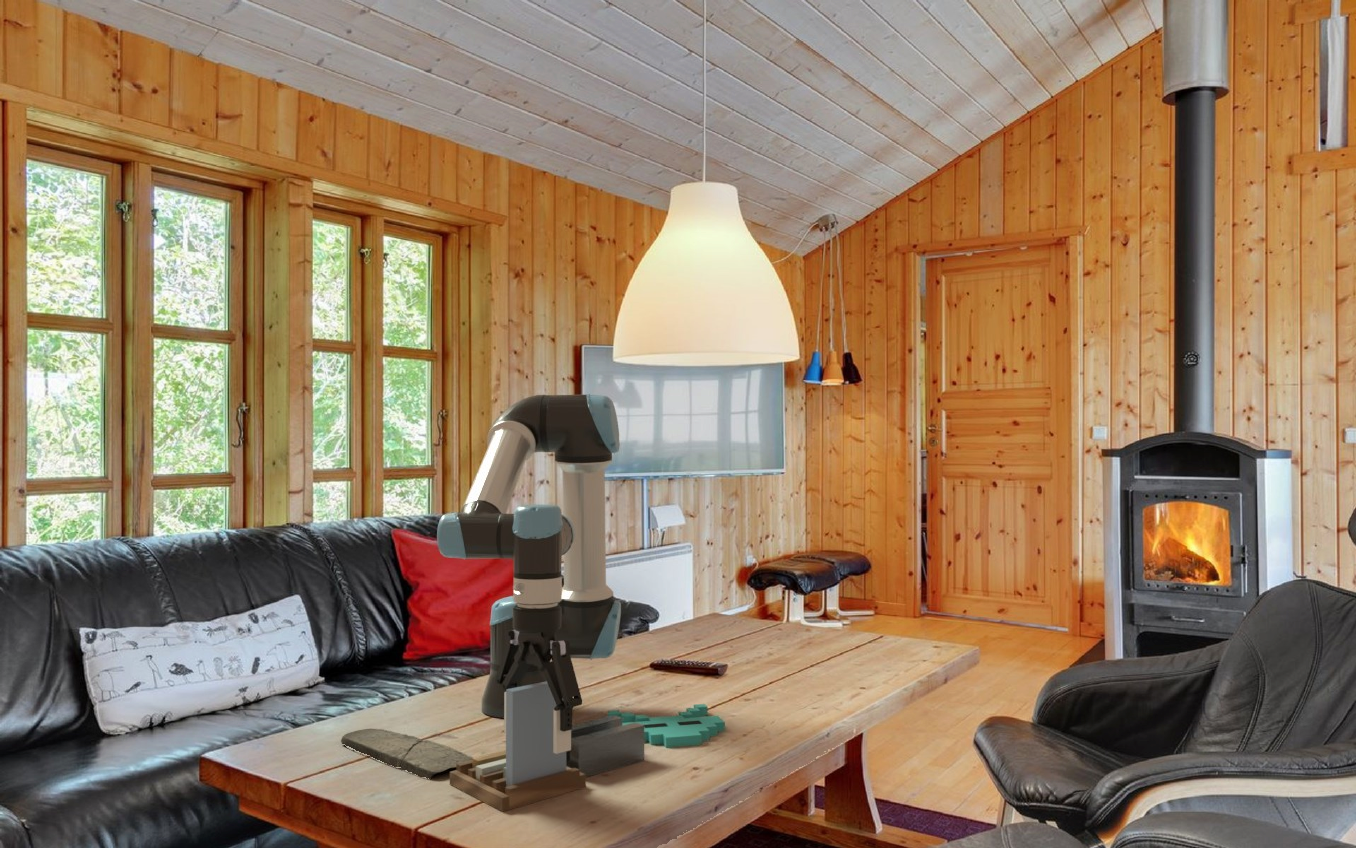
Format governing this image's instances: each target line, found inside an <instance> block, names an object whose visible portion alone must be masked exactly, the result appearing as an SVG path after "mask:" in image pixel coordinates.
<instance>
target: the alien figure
mask: <svg viewBox="0 0 1356 848" xmlns="http://www.w3.org/2000/svg"><path fill="white" fill-rule="evenodd" d="M708 709H709V708H708V706H707V705H706V704H705V703H700V704H699V703H698V704H693V707H687V708H686V709H685V710H686V711H679V712H678V714H677V715H668V716H667V715H665V716H654V717H651V716H648V715H647V714H636V715H635V714H634V713H633V712H630V711H629V712H621V711H620V709H618V710H607V717H609V716H613V715H615V716H618V717H621V718H622V726H623V725H627V724H631V723H635V722H636V723H639V724H642V725H644V741H647V742H648V741H649V742H648V743H649V744H650V745H651V746H655V744H657V745H663V747H665V748H667V749H668V748H677V747H679V746H680V747H690V746H691V747H692V746H700V745H701V746H702V742H703V741H710V740H711V739H710V737H715V736H718V733H719V732H718V731H722V732H725V731H726V722H725V720H723V718H721V717H720V716H719V715H709V716H704V715H708V714H709V713H708V711H709V710H708ZM653 744H654V745H653ZM680 747H679V748H680Z"/></svg>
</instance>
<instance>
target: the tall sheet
mask: <svg viewBox="0 0 1356 848" xmlns="http://www.w3.org/2000/svg"><path fill="white" fill-rule="evenodd" d="M562 700H563V698H562ZM556 706H557V705H556V702H555V700H554V698H553V695H552V693H551V690H550V688H549V686H548V683H547V681H546V682H541V683H536V684H531V685H526V686H521V687H516V688H511V689H506V734H505V750H506V787H508V786H511V785H515V784H519V783H522V782H526V781H529V780H533V779H537V778H540V777H544V776H547V775H551V774H555V773H558V772H562V771H566V751H565V752H561V753H558V754H556V753H553V730H554V708H555V707H556Z"/></svg>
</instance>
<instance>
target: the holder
mask: <svg viewBox="0 0 1356 848" xmlns="http://www.w3.org/2000/svg"><path fill="white" fill-rule="evenodd" d="M639 762H645V742H644V725H642V724H639V723H636V722H635V723H631V724H627V725H623V726H622V718H621V717H618V716H615V715H613V716H609V717H608V716H606V717H601V718H597V719H593V720H592V719H591V720H589V721H584V722H581V723H576V724H572V730H571V750H569V751H566V766H567V767H569V768H572V769H573V768H577V769H579V770H580V772H581V773H584V774H586V778H589V777H591V776H595V775H599V774H602V773H605V772H608V771H612V770H615V769H620V768H623V767H626V766H630V765H634V764H637V763H639Z"/></svg>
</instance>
